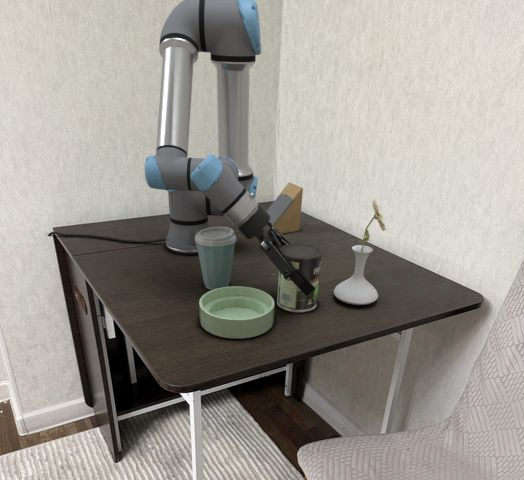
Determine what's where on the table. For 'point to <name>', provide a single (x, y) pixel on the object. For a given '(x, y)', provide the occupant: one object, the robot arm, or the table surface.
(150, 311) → the table surface
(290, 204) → the sandwich container
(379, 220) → the flower in vase
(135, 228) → the table surface
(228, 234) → the disposable coffee cup
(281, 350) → the table surface
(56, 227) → the table surface
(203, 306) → the bowl
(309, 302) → the coffee can
